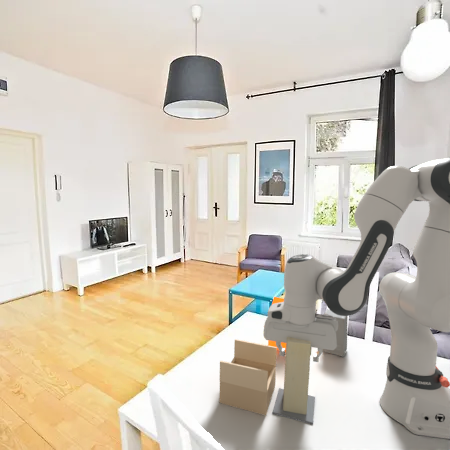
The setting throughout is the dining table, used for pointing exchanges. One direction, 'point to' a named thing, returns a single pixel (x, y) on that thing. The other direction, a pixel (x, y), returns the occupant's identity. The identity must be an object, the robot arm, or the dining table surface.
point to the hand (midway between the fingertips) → (298, 357)
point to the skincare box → (339, 334)
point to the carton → (249, 377)
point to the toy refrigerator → (296, 375)
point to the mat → (301, 417)
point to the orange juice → (273, 343)
